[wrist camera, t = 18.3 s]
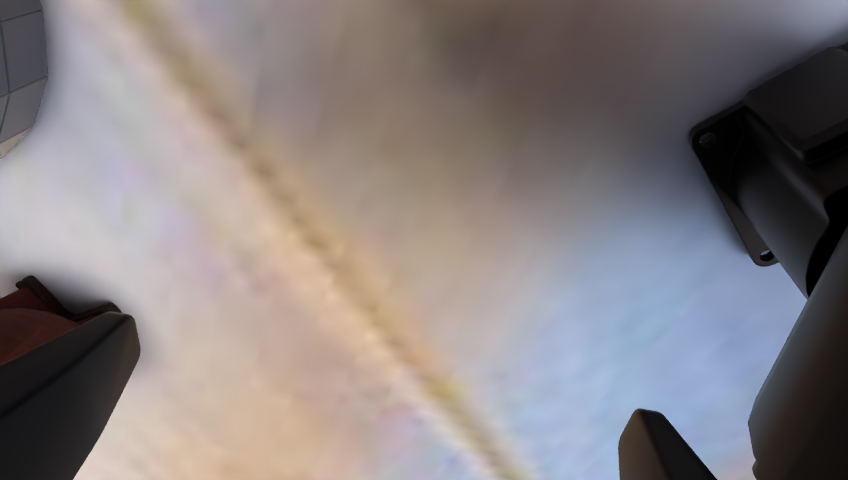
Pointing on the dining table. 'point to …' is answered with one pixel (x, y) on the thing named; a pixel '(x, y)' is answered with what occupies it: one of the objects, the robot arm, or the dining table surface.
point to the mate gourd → (36, 318)
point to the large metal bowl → (20, 69)
